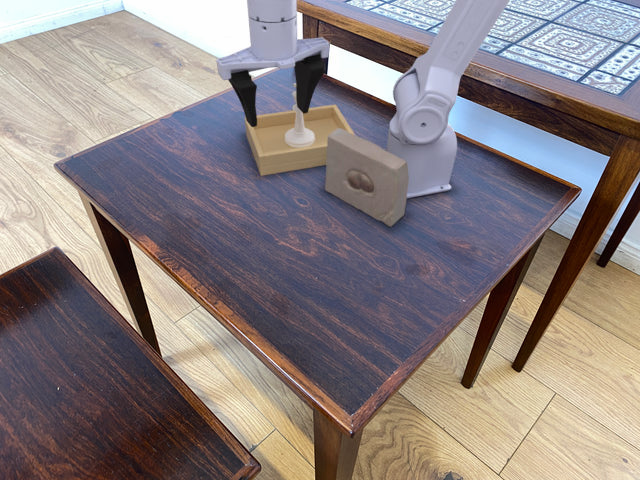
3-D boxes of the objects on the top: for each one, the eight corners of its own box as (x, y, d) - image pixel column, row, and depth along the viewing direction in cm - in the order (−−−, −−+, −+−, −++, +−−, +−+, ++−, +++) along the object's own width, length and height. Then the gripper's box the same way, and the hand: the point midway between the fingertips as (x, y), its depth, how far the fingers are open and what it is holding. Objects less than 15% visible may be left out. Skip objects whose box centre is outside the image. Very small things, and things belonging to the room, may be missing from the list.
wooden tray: (335, 122, 87) (335, 104, 85) (357, 159, 79) (359, 141, 77) (246, 135, 84) (244, 116, 81) (260, 176, 76) (259, 156, 73)
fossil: (323, 191, 73) (324, 135, 67) (338, 180, 75) (341, 124, 69) (390, 228, 68) (399, 171, 61) (405, 215, 70) (415, 159, 63)
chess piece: (306, 151, 78) (305, 92, 71) (278, 142, 80) (275, 84, 73) (320, 135, 81) (321, 77, 74) (293, 128, 83) (292, 70, 76)
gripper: (226, 37, 54) (238, 144, 63) (343, 15, 59) (338, 117, 68) (204, 15, 58) (219, 118, 68) (314, -4, 63) (314, 94, 73)
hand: (277, 116), depth 68 cm, fingers open, 7 cm apart
